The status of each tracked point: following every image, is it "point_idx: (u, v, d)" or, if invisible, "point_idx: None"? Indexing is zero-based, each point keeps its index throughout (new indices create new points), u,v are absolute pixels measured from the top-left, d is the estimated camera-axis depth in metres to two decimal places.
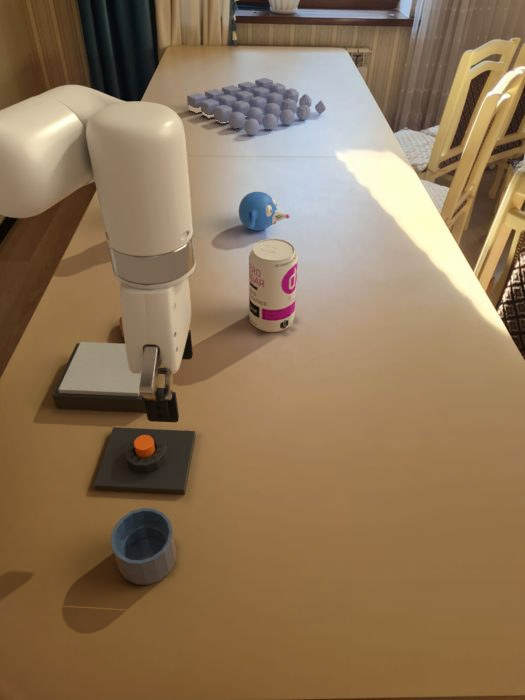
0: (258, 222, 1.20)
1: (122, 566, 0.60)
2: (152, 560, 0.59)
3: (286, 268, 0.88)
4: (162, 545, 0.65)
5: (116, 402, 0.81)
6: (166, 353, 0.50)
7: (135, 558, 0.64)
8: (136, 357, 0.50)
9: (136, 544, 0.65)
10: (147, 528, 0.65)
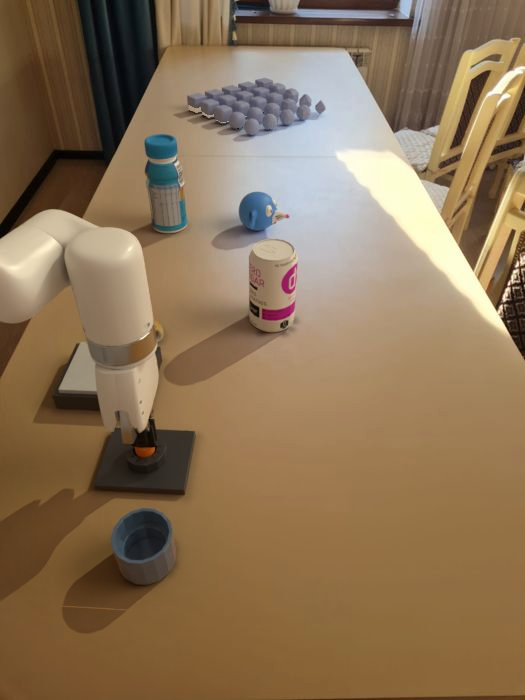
0: (258, 222, 1.20)
1: (122, 566, 0.60)
2: (152, 560, 0.59)
3: (286, 268, 0.88)
4: (162, 545, 0.65)
5: None
6: (133, 417, 0.61)
7: (135, 558, 0.64)
8: (109, 420, 0.62)
9: (136, 544, 0.65)
10: (147, 528, 0.65)
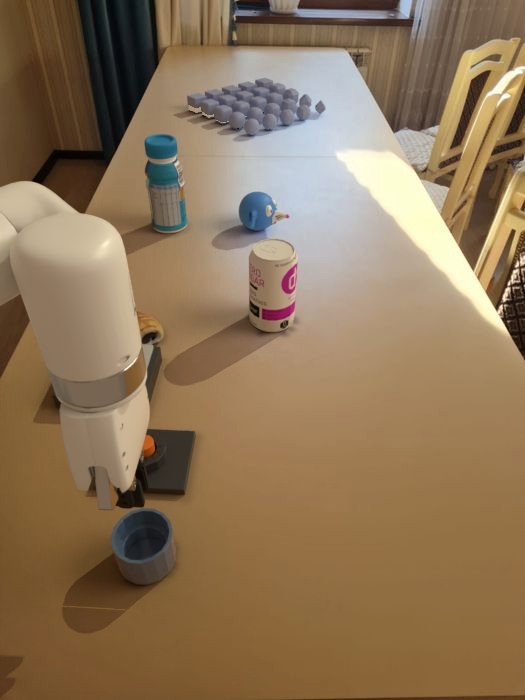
0: (258, 222, 1.20)
1: (122, 566, 0.60)
2: (152, 560, 0.59)
3: (286, 268, 0.88)
4: (162, 545, 0.65)
5: None
6: (114, 474, 0.45)
7: (135, 558, 0.64)
8: (82, 477, 0.46)
9: (136, 544, 0.65)
10: (147, 528, 0.65)
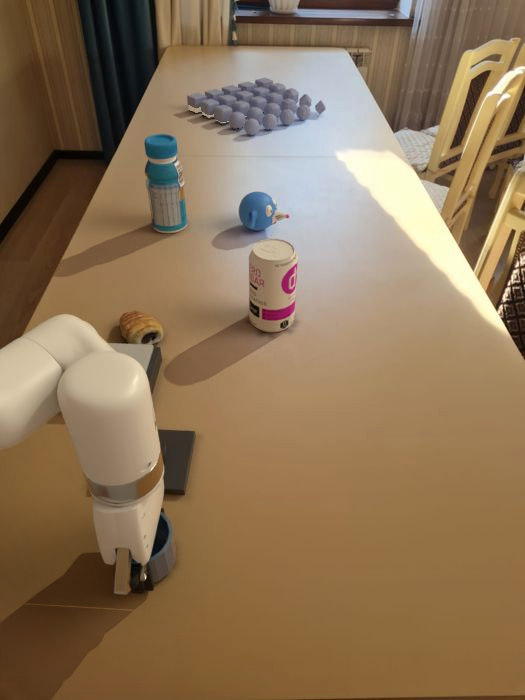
0: (258, 222, 1.20)
1: None
2: (152, 560, 0.59)
3: (286, 268, 0.88)
4: (162, 545, 0.65)
5: None
6: (136, 553, 0.54)
7: None
8: (109, 555, 0.54)
9: None
10: None
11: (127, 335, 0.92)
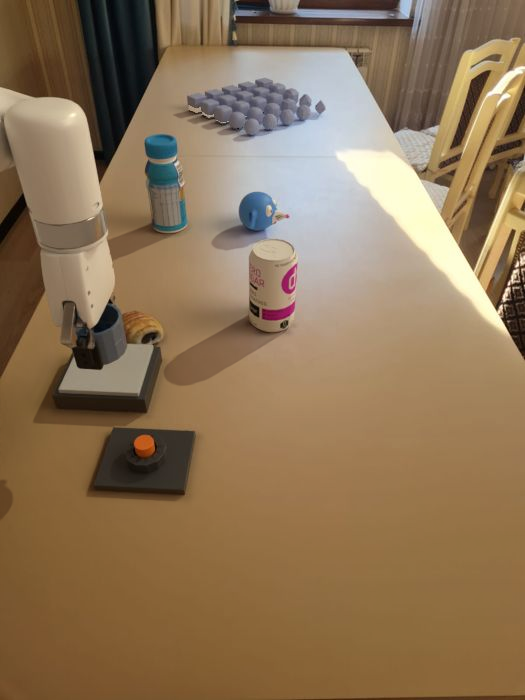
0: (258, 222, 1.20)
1: None
2: (100, 334, 0.65)
3: (286, 268, 0.88)
4: None
5: (116, 402, 0.81)
6: (82, 309, 0.60)
7: None
8: (57, 312, 0.60)
9: None
10: (101, 323, 0.71)
11: (127, 335, 0.92)
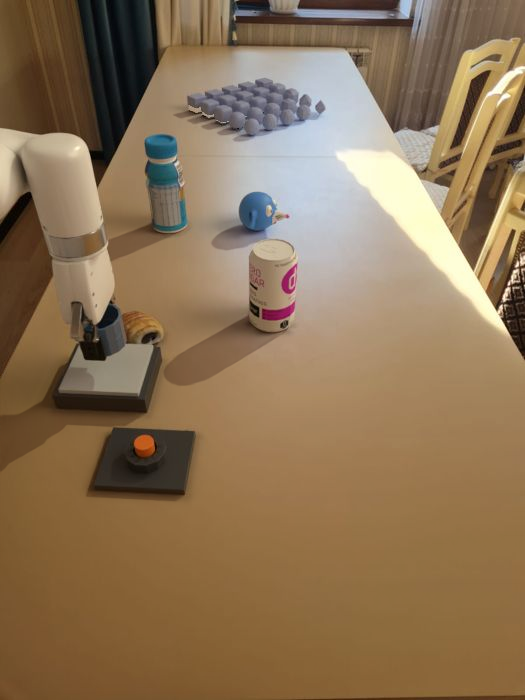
0: (258, 222, 1.20)
1: None
2: (103, 329, 0.76)
3: (286, 268, 0.88)
4: None
5: (116, 402, 0.81)
6: (87, 308, 0.71)
7: None
8: (67, 311, 0.71)
9: None
10: (103, 321, 0.81)
11: (127, 335, 0.92)
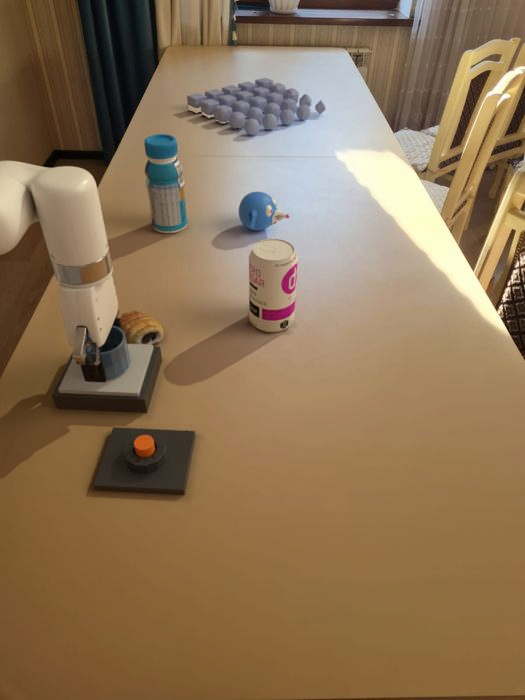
0: (258, 222, 1.20)
1: None
2: (108, 353, 0.78)
3: (286, 268, 0.88)
4: None
5: (116, 402, 0.81)
6: (92, 332, 0.73)
7: None
8: (72, 334, 0.74)
9: None
10: (108, 343, 0.84)
11: (127, 335, 0.92)
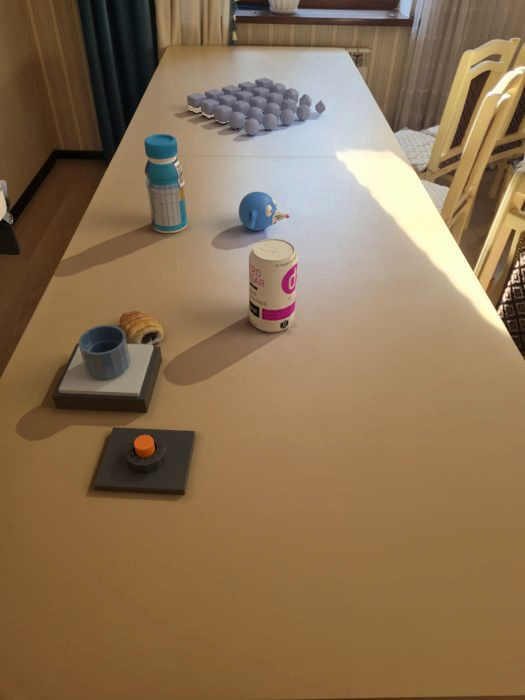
0: (258, 222, 1.20)
1: (87, 360, 0.80)
2: (108, 353, 0.78)
3: (286, 268, 0.88)
4: None
5: (116, 402, 0.81)
6: None
7: None
8: None
9: None
10: (108, 343, 0.84)
11: (127, 335, 0.92)
